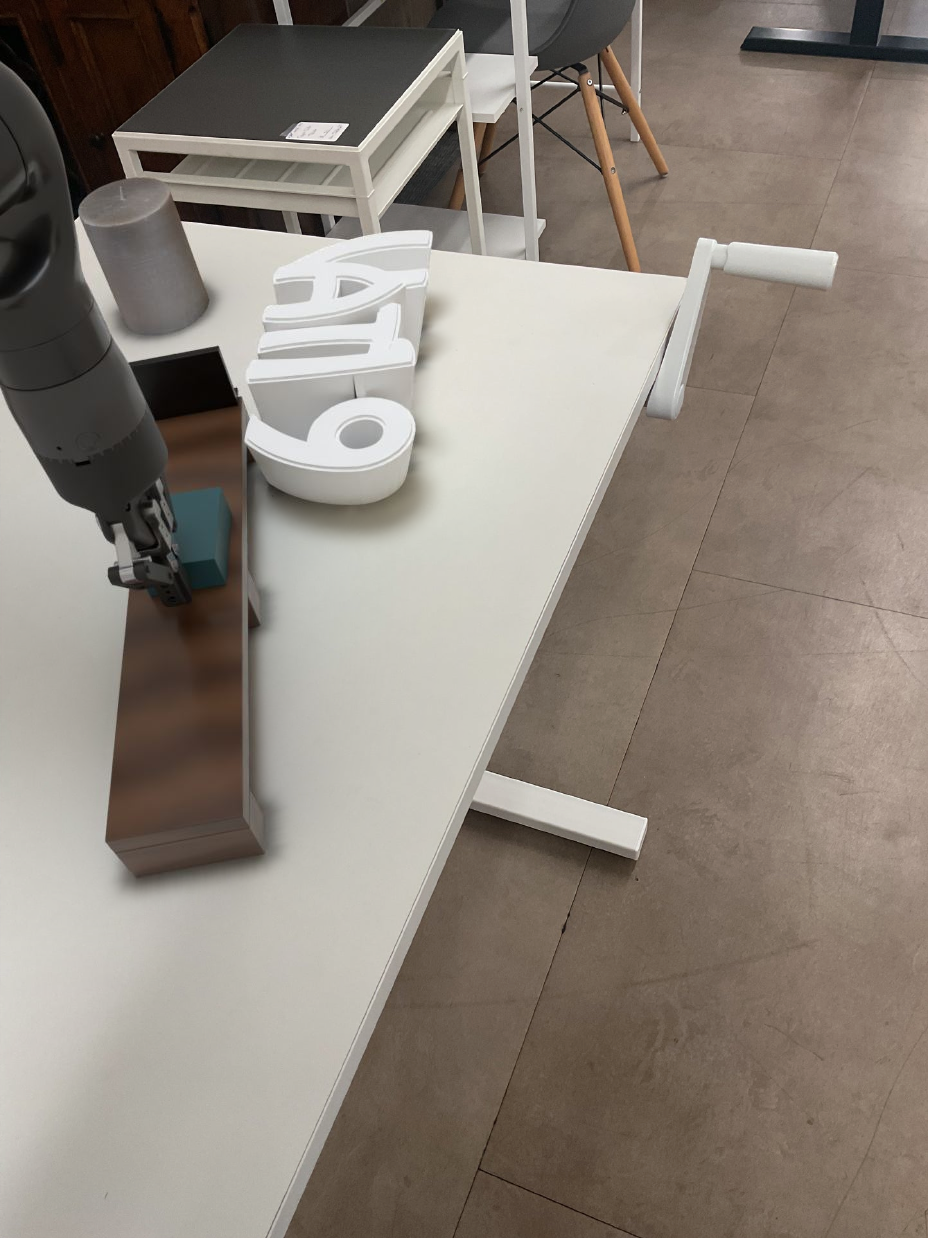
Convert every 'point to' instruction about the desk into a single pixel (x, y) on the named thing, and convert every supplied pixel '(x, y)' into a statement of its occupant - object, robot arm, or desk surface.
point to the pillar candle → (144, 255)
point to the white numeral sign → (341, 369)
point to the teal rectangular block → (202, 536)
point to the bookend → (185, 383)
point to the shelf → (190, 685)
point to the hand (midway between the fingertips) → (179, 598)
